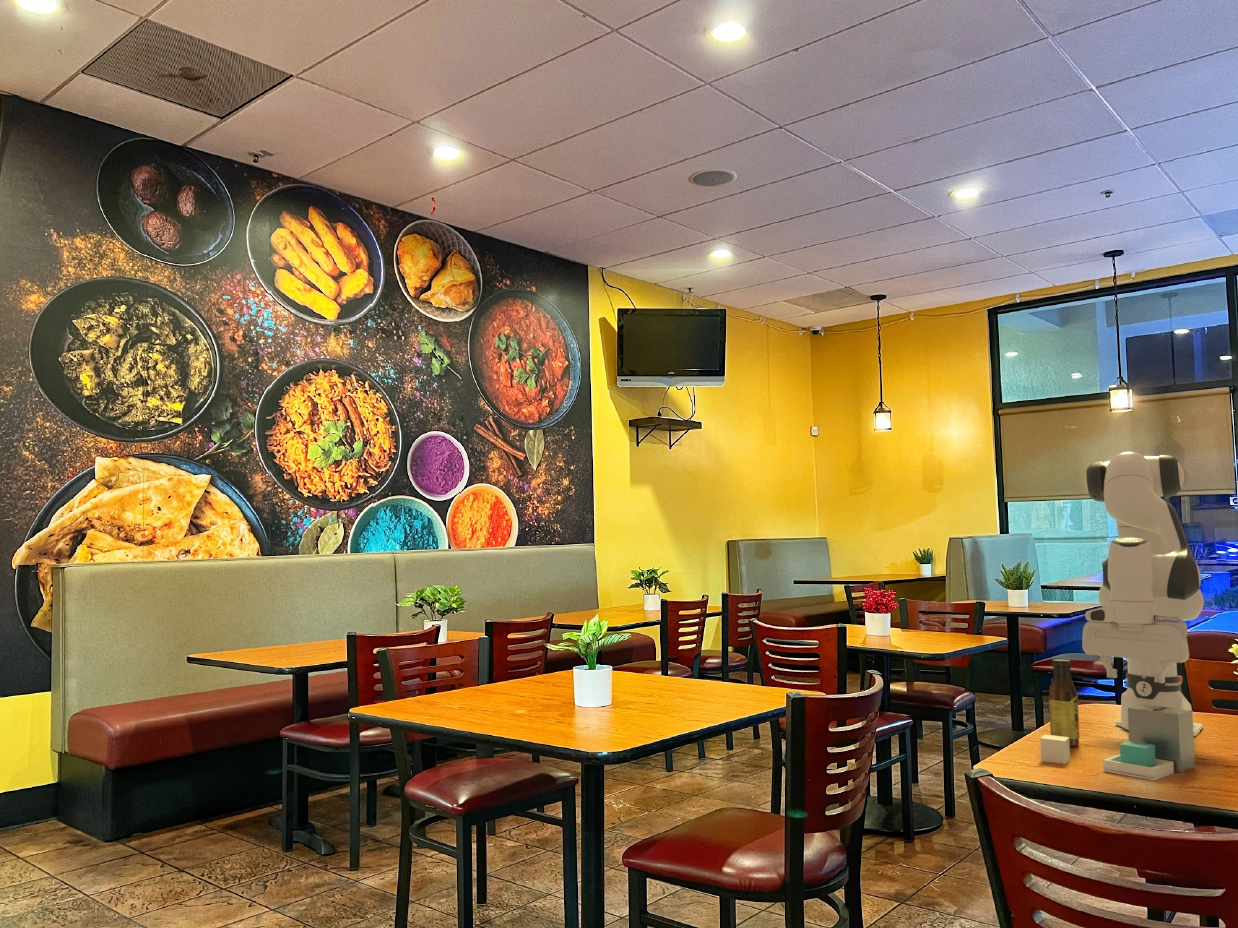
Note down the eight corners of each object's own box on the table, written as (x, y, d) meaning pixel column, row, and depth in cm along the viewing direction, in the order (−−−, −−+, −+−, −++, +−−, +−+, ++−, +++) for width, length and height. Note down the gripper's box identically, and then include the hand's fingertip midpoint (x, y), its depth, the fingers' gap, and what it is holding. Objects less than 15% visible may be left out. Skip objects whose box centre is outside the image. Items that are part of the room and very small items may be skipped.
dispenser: (1145, 758, 209) (1143, 702, 210) (1195, 766, 201) (1192, 709, 202) (1130, 764, 203) (1127, 706, 204) (1180, 772, 196) (1178, 713, 197)
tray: (1123, 763, 204) (1122, 753, 204) (1173, 772, 196) (1173, 761, 196) (1103, 770, 197) (1103, 759, 197) (1155, 780, 190) (1154, 768, 190)
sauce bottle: (1083, 748, 219) (1080, 662, 221) (1054, 746, 220) (1051, 661, 222) (1075, 742, 225) (1072, 658, 227) (1047, 741, 227) (1045, 657, 228)
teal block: (1120, 768, 197) (1119, 744, 197) (1130, 764, 200) (1129, 740, 201) (1146, 772, 193) (1145, 748, 194) (1155, 769, 196) (1154, 744, 197)
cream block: (1045, 757, 210) (1044, 734, 211) (1069, 760, 207) (1069, 737, 208) (1041, 761, 206) (1040, 738, 206) (1065, 764, 203) (1065, 740, 204)
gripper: (1192, 616, 194) (1195, 684, 193) (1090, 610, 209) (1092, 673, 208) (1181, 618, 190) (1184, 687, 188) (1077, 612, 205) (1080, 676, 204)
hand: (1135, 680), depth 198 cm, fingers open, 8 cm apart
